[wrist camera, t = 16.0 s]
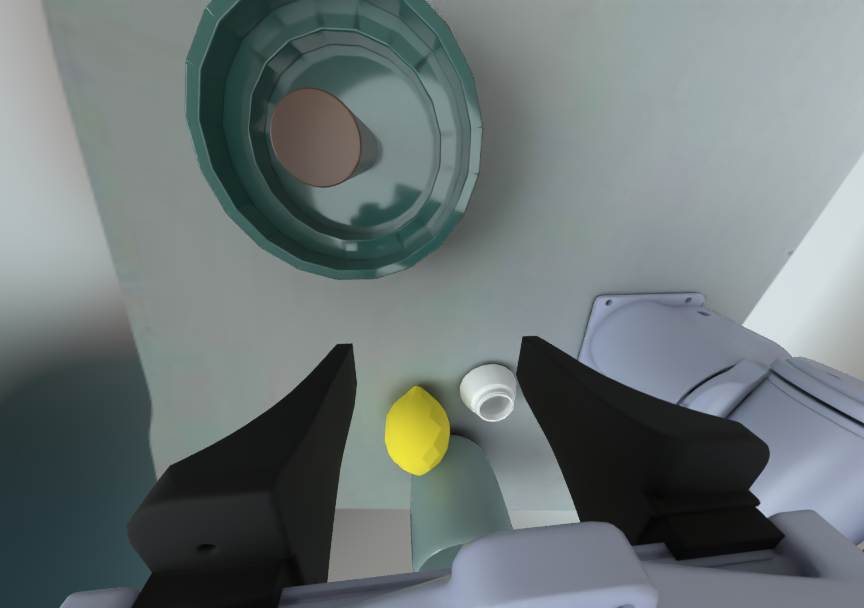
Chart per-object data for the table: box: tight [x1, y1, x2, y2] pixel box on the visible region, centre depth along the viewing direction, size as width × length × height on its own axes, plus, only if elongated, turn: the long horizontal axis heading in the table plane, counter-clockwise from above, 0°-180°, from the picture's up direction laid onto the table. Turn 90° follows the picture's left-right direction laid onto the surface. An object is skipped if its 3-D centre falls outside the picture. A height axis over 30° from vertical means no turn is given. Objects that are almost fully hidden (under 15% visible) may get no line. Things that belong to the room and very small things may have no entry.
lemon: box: [385, 386, 450, 476], centre depth 25 cm, size 7×5×5 cm
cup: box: [410, 435, 513, 572], centre depth 26 cm, size 8×8×10 cm
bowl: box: [185, 0, 483, 280], centre depth 16 cm, size 13×13×4 cm
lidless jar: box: [460, 364, 517, 422], centre depth 26 cm, size 5×3×5 cm
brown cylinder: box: [270, 87, 377, 188], centre depth 14 cm, size 3×3×9 cm
